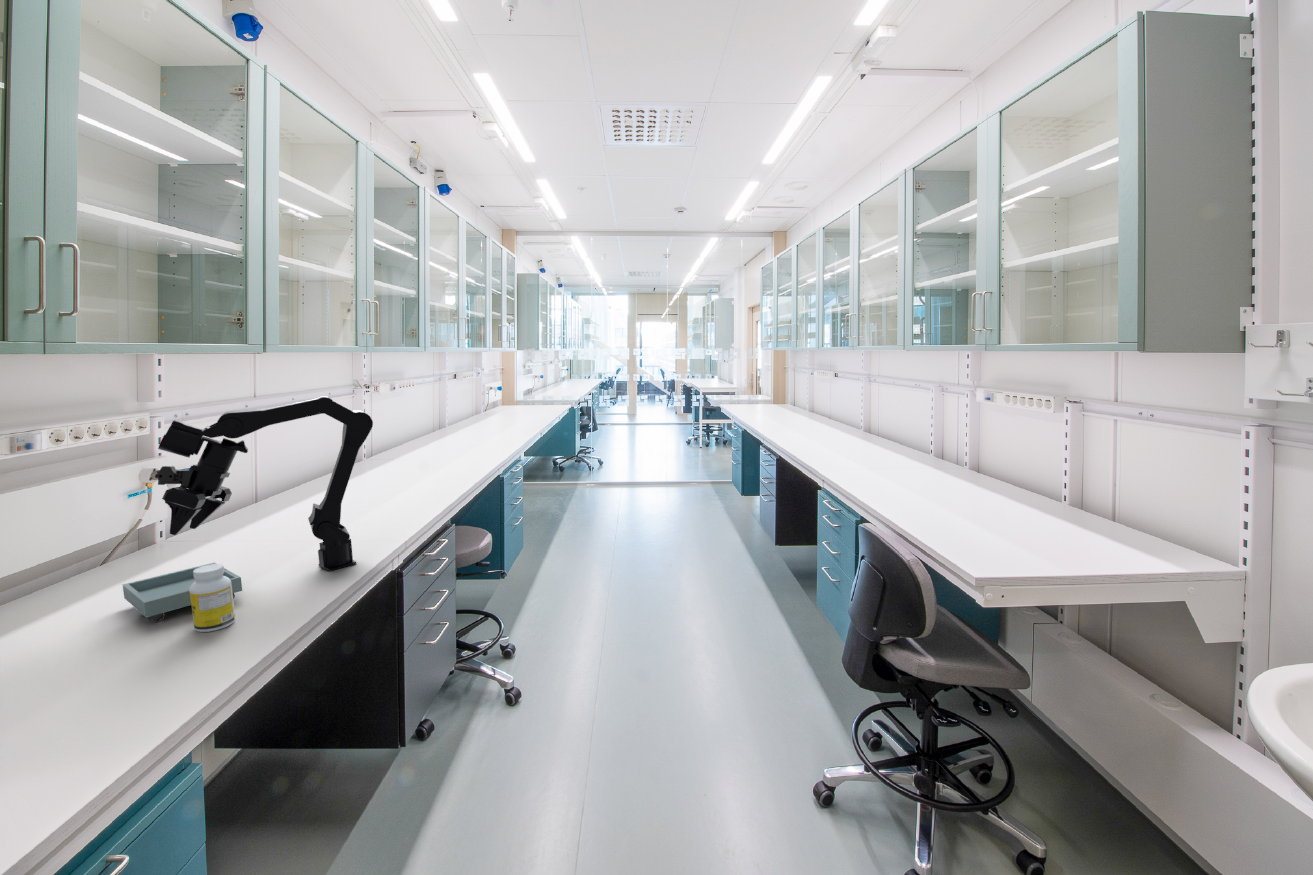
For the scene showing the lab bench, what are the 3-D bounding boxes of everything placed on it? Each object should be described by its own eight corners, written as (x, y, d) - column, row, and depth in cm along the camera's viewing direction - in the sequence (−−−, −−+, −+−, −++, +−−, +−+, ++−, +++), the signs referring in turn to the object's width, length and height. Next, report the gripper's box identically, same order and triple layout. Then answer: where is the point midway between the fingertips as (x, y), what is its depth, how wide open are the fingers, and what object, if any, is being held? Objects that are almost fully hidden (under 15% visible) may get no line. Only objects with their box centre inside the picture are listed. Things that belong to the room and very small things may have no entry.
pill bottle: (209, 619, 117) (202, 562, 115) (243, 617, 117) (236, 561, 116) (185, 634, 110) (178, 574, 109) (222, 632, 111) (215, 573, 109)
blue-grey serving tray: (216, 583, 136) (214, 562, 135) (243, 599, 126) (240, 577, 126) (125, 607, 123) (122, 584, 122) (147, 627, 114) (144, 602, 113)
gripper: (193, 451, 137) (163, 514, 136) (151, 452, 120) (116, 524, 118) (244, 468, 140) (215, 529, 139) (211, 471, 123) (178, 542, 121)
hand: (182, 531), depth 129 cm, fingers open, 9 cm apart
